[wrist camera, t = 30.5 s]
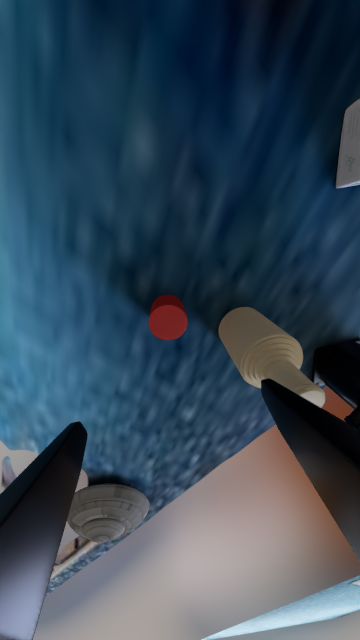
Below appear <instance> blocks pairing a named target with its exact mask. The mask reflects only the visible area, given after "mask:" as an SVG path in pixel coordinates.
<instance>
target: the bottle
mask: <svg viewBox="0 0 360 640" xmlns="http://www.w3.org/2000/svg"><path fill="white" fill-rule="evenodd" d="M219 337H220V339H221V341H222V343H223V344H224V346H225V348H226V349H227V351H228V353H229V355H230V356H231V358H232V360H233V362H234V363H235V365H236V367H237V369H238V370H239V372H240V374H241V375H242V377H243V379H244V380H245V381H246V382H247V383H249V384H251V385H253V386H255V387H258V388H261V380H263V379H267V378H270V379H272V380H274V381H276V382H278V383H279V384H281V385H283V386H284V387H286V388H288V389H290V390H291V391H293V392H295V393H296V394H298V395H300V396H302V397H303V398H305V399H307V400H308V401H310V402H312V403H314V404H315V405H317V406H319V407H322V406H323V404H324V402H325V393H324V391H323V390H322V389H321V388H319V386H318V385H317V384H315V383H313V382H312V381H311V380H309V379H308V378H307V377H306V376H305V375H304V374H303V373H302V372H301V371H300V370H299V369H300V367H301V365H302V362H303V352H302V348H301V345H300V344H299V342H298V341H297V340H296V339H294V338H293V337H292V336H290V335H289V334H288V333H286V332H285V331H284V330H282V329H281V328H280V327H278V326H277V325H275V324H274V323H273V322H271V321H270V320H269V319H267V318H266V317H265V316H263V315H262V314H261V313H259V312H258V311H257V310H255V309H253V308H250V307H240V308H236V309H234V310H232V311H230V312H229V313H227V314H226V315H225V316H224V318H223V319H222V320H221V322H220V325H219Z"/></svg>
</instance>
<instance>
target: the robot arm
mask: <svg viewBox="0 0 360 640" xmlns="http://www.w3.org/2000/svg"><path fill="white" fill-rule="evenodd" d="M312 382H313V383H315V384H317V385H318V386H321V385H325V384H326V385H327V386H328V387H329V388H330V389H332V390H333V391H334V392H335V393H336V394H337V395H338V396H339V397H340V398H342V399H343V400H344V401H345V402H346V403H347V404H348V405H349V406H351V407H352V408H353V409H354V410H353V411H352V413H351V414H350V415H349V416H346V418H344V420H345V421H346V422H344V421H343V420H341V419H339V418H338V417H336V416H334V415H332V414H331V413H329V412H327V411H326V410H324V409H322V408H321V407H319V406H317V405H315V404H314V403H312V402H310V401H308V400H307V399H305V398H303V397H302V396H300V395H298V394H296V393H295V392H293V391H291V390H290V389H288V388H286V387H284V386H283V385H281V384H279V383H278V382H276V381H274V380H272V379H270V378H267V379H263V380H261V393H262V396H263V399H264V401H265V403H266V405H267V407H268V409H269V411H270V413H271V415H272V417H273V419H274V421H275V423H276V425H277V427H278V429H279V430H280V432H281V434H282V436H283V437H284V439H285V440H286V442H287V444H288V445H289V447H290V449H291V450H292V452H293V454H294V455H295V457H296V458H297V460H298V462H299V463H300V465H301V467H302V468H303V470H304V471H305V473H306V475H307V476H308V478H309V479H310V481H311V483H312V484H313V486H314V488H315V489H316V491H317V492H318V494H319V496H320V497H321V499H322V501H323V502H324V503H325V505H326V507H327V509H328V510H329V512H330V514H331V515H332V517H333V518H334V520H335V521H336V523H337V525H338V526H339V528H340V530H341V531H342V533H343V535H344V536H345V538H346V539H347V541H348V542H349V544H350V546H351V547H352V549H353V551H354V552H355V554H356V556H357V557H358V559H359V560H360V339H356V340H351V341H347V342H342V343H338V344H334V345H329V346H325V347H320V348H317V349H316V350H315V354H314V364H313V374H312ZM86 442H87V431H86V430H85V428H84V427H83V425H82V423H81V422H74V423H71V424H69V425H68V426H67V427H66V428H65V429H64V430H63V431H62V432H61V433H60V434H59V435H58V436H57V437H56V438H55V439H54V440H53V441H52V442H51V443H50V444H49V446H48V447H47V448H46V449H45V450H44V451H43V452H42V453H41V454H40V455H39V456H38V457H37V458H36V459H35V460H34V461H33V462H32V463H31V464H30V465H29V466H28V467H27V468H26V469H25V470H24V471H23V472H22V473H21V474H20V475H19V476H18V477H17V478H16V479H15V480H14V481H13V482H12V483H11V484H10V485H9V486H8V487H7V488H6V489H5V490H4V491H3V492H2V493H1V494H0V640H33V637H34V633H35V630H36V626H37V623H38V619H39V616H40V612H41V609H42V605H43V602H44V598H45V595H46V591H47V588H48V584H49V581H50V577H51V574H52V570H53V567H54V563H55V560H56V556H57V553H58V549H59V546H60V542H61V539H62V535H63V532H64V528H65V525H66V521H67V518H68V514H69V511H70V507H71V504H72V500H73V497H74V493H75V490H76V486H77V483H78V479H79V475H80V471H81V467H82V462H83V457H84V452H85V447H86Z"/></svg>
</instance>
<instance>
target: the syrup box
mask: <svg viewBox="0 0 360 640" xmlns="http://www.w3.org/2000/svg"><path fill="white" fill-rule="evenodd" d="M355 185H360V98H359V99H358V100H357V101H355V102H354V103H353V104H352V105H350V106H349V107H348V108H347V109H346V111H345V115H344V122H343V128H342V134H341V142H340V151H339V160H338V170H337V179H336V188H343V187H349V186H355Z"/></svg>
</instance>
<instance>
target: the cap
mask: <svg viewBox="0 0 360 640" xmlns="http://www.w3.org/2000/svg"><path fill="white" fill-rule="evenodd" d="M187 322H188V321H187V314H186V311H185V308H184V306H183V304H182V302H181V301H180V300H179V299H178V298H177V297H175V296H172V295H163V296H160V297H158V298H157V299H156V300H155V301H154V302H153V304H152V307H151V312H150V316H149V328H150V330H151V332H152V333H153V334H154V335H155V336H156V337H158V338H160V339H163V340H173V339H176V338H178V337H180V336H181V335H182V334H183V333H184V332H185V330H186V328H187Z"/></svg>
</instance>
